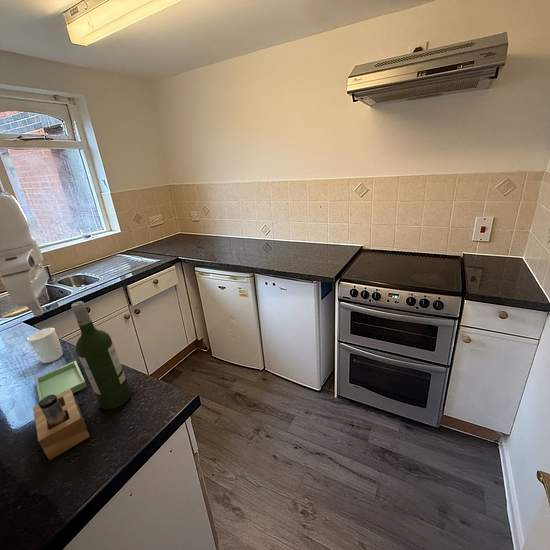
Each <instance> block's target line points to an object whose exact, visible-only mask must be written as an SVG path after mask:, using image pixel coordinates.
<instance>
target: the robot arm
mask: <svg viewBox="0 0 550 550" xmlns="http://www.w3.org/2000/svg"><path fill="white" fill-rule="evenodd" d="M43 260H44V256H43V253H42V251H41V249H40V247H39V244H38V243H37V240H36V239H35V237H34V236H33V235H32V233H31V230H30V224H29V222H28V219H27V217H26V215H25V213H24V212H23V209H22V207H21V206H20V204H19V203H18V201H17V200H16V198H15V196H13V195H12V194H11V193H9V192H7V191H4V190H0V280H1V283H2V285H3V287H4V289H5V290H6V292H7V294H8V295H9V298H11V300H12V301H13V303H14V304H15V305H16V306H18V307H24V306H26V308H28V309H29V310H30V311H31V313H32V315H33V316H34V317H36V318H37V317H40V316H43V314H44V309H43V307H42V306H41V305H40V303H41V304H45V303H48V302H49V301H50V297H49V294H48V289H47V285H46V284H47V282H48V281H49V275H48V273H47V271H46V268H45V267H44V264H43V262H42V261H43ZM39 301H40V303H39Z"/></svg>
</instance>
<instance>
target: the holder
mask: <svg viewBox="0 0 550 550" xmlns="http://www.w3.org/2000/svg"><path fill="white" fill-rule="evenodd" d="M56 396H57V398H58V400H59V402H60V404H61V406H62V408H63V410H64V412H65V414H66V416H67V418H68V420H67V421H65V422H63V423H61V424H59V425H57V426H55V427H54V428H51V427H50V425H49V423H48V421H47V419H46V417H45V416H44V414H43V412H42V410H41V408H40V406H39V403H37V404H36V405H34V406H32V409H33V416H34V423H35V429H36V435H37V442H38V443H39V445H40V447H41V449H42V450H43V452H44V454H45V456H46V458H47V459H48V461H51V460H53V459H55V458H56V457H58V456H60V455H61V454H63V453H64V452H67V451H68V450H70V449H71V448H73V447H75V446H76V445H78V444H80V443H82V442H83V441H86V440H87V439H89V438H90V437H91V435H90V432H89V430H88V427H87V425H86V423H85V419H84V417H83V414H82V411H81V409H80V405H79V404H78V402H77V399H76V397H75V396H74V393H72V391H71V389H69V390H67V391H65V392H63V393H61V394H58V395H56Z"/></svg>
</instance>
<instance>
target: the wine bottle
mask: <svg viewBox="0 0 550 550" xmlns="http://www.w3.org/2000/svg"><path fill="white" fill-rule="evenodd" d="M71 310H72V312H73V314H74V317H75V320H76V322H77V325H78V327H79V330H80V336H79V338H78V339H77V341H76V344H75V352H76V354H77V356H78V358H79V360H80V363H81V365H82V367H83V369H84V372H85V374H86V376H87V378H88V381H89V383H90V385H91V388H92V390H93V392H94V394H95V397H96V398H97V401H98V404H99V406H100V407H101V408H102V409H103V410H113V409H114V410H115V409H117V408H119V407H121V406H122V405H124V404H125V403H127V402H128V400H129V399H130V398H131V395H132V389H131V387H130V384H129V381H128V379H127V377H126V374H125V371H124V368H123V366H122V364H121V361H120V358H119V355H118V353H117V350H116V348H115V345H114V343H113V340H112V338H111V335H110V334H109V333H108V332H106V331H104V330H101V329H97V328H96V326H95V325H94V323H93V320H92V319H91V316H90V315H89V312H88V310H87V307H86V304H85V302H84V301H82V300H80V301H76V302H73V303H72V304H71Z"/></svg>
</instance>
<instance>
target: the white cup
mask: <svg viewBox="0 0 550 550" xmlns="http://www.w3.org/2000/svg"><path fill="white" fill-rule="evenodd" d="M27 341H28V343H29V345H30V346H31V349H32V350H33V351H34V353H35V354H36V356H37V357H38V359H39V361H40V362H41V363H42V364H49V363H52V362H55V361H56V360H58V359H60V358H61V357H62V356H63V355H64V352H63V351H64V350H63V349H62V344H61V342H60V340H59V336H58V334H57V331H56V330H55V328H54V327H46V328H42V329H39V330H37V331H35V332H33V333H31V334H30V335H29V336H28V337H27Z"/></svg>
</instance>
